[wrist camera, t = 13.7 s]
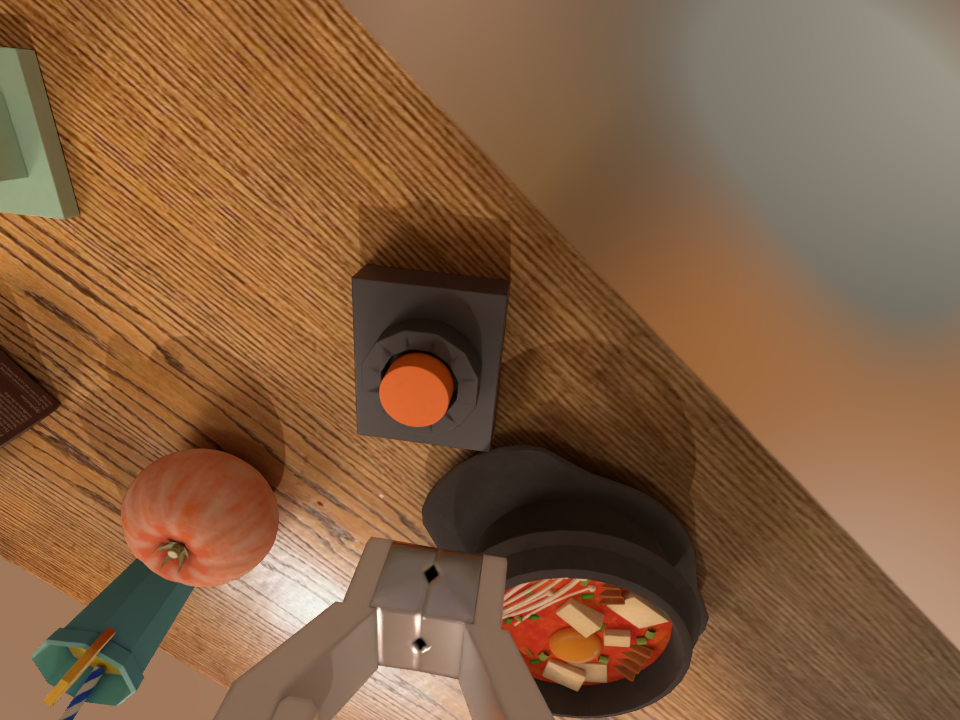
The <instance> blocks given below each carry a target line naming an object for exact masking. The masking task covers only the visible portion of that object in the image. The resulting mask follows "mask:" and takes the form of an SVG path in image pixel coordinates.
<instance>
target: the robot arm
mask: <svg viewBox="0 0 960 720" xmlns="http://www.w3.org/2000/svg"><path fill="white" fill-rule="evenodd" d="M482 559H483V561H482ZM506 570H507V558H502V557H496V556H489V555H484V556H483V554H479V553H472V552H465V551H458V550H451V549H444V548H433V547H427V546H422V545H417V544H411V543H406V542H400V541H395V540H388V539H382V538H377V537H371V538H370V539H369V540H368V542H367V543H366V546H365V548H364V551H363V553H362V556H361V558H360V561H359V563H358V566H357V568H356V570H355V573H354V575H353V578H352V580H351V583H350V585H349V588H348V590H347V593H346V595H345V598H344V600H343V603H342V602H335V603H333V604H332V605H331V606H330V607H328V608H327V609H326V610H324V611H323V612H322V613H321V614H319V615H318V616H317V617H316V618H314V619H313V620H312V621H310V622H309V623H308V624H307V625H305V626H304V627H303V628H302V629H300V630H299V631H298V632H296V633H295V634H294V635H293V636H291V637H290V638H289V639H288V640H286V641H285V642H284V643H283V644H281V645H280V646H279V647H277V648H276V649H275V650H274V651H272V652H271V653H270V654H269V655H267V656H266V657H265V658H263V659H262V660H261V661H260V662H258V663H257V664H256V665H255V666H253V667H252V668H251V669H250V670H248V671H247V672H246V673H244V674H243V675H242V676H241V677H239V678H238V679H237V680H236V681H234V682H233V683H232V685H231V687H230V689H229V691H228V693H227V694H226V696H225V698H224V700H223V702H222V704H221V706H220V707H219V709H218V711H217V713H216V715H215V717H214V719H213V720H331V719H332V718H333V717H334V716H335V715H336V714H337V713H338V712H339V711H340V710H341V708H342V707H343V706H344V705H345V704H346V703H347V702H348V701H349V700H350V698H351V697H352V696H353V695H354V694H355V693H356V692H357V691H358V690H359V689H360V687H361V686H362V685H363V684H364V683H365V682H366V681H367V680H368V679H369V677H370V676H371V675H372V674H373V673H374V672H375V671H376V670H377V669H378V665H379V666H386V667H393V668H400V669H407V670H414V671H420V672H425V673H430V674H435V675H440V676H445V677H450V678H455V679H459V683H460V686H461V689H462V692H463V695H464V698H465V700H466V703H467V706H468V709H469V712H470V715H471V718H472V720H555V719H554V717H553V715H552V713H551V711H550V709H549V708H548V706H547V704H546V702H545V700H544V698H543V696H542V694H541V692H540V690H539V688H538V686H537V684H536V683H535V681H534V679H533V677H532V675H531V673H530V671H529V669H528V667H527V665H526V663H525V661H524V659H523V658H522V656H521V654H520V652H519V650H518V648H517V646H516V644H515V642H514V640H513V638H512V636H511V634H510V633H509V631H508V630H504V629H501V627H502V616H503V604H504V593H505V582H506Z"/></svg>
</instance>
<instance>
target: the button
mask: <svg viewBox="0 0 960 720" xmlns="http://www.w3.org/2000/svg"><path fill="white" fill-rule="evenodd" d="M453 389H454V383H453V378H452V375H451V373H450V371H449V369H448V368H447V367H446V365H445V364H444V363H443V362H441V361H440V360H439V359H437V358H436V357H434V356H431V355H429V354H425V353H418V352H416V353H408V354H405V355H402V356H400V357H399V358H397V359H396V360H395V361H394V362H393V363H392V364H391V366H390V368H389V369H388V371H387V373H386V374H385V376H384V378H383V380H382V381H381V384H380V388H379V397H380V401H381V404H382V406H383V408H384V409H385V411H386V412H387V413H388V414H389V415H390V416H391V417H392V418H393V419H395V420H396V421H398V422H400V423H402V424H404V425H408V426H412V427H424V426H429V425H431V424H434V423H436V422H437V421H439V420H440V419H441V418H442V417H443V416H444V414H445V413H446V411H447V409H448V406H449V403H450V400H451V397H452V393H453Z"/></svg>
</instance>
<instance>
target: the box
mask: <svg viewBox="0 0 960 720" xmlns="http://www.w3.org/2000/svg"><path fill="white" fill-rule="evenodd" d="M58 407H60V404H59V403H58V402H57V401H56V400H54V399H53V398H52V397H51V396H50V395H49V394H48V393H47V392H46V391H44V390H43V389H42V388H41V387H40V386H39V385H38V384H37V383H36V382H34V381H33V380H32V379H31V378H30V377H29V376H28V375H27V374H26V373H25V372H24V371H23V370H22V369H21V368H19V367H18V366H17V365H16V364H15V363H14V362H13V361H12V360H11V359H10V358H9V357H8V356H7V355H6V354H5V353H4V352H2V351H1V349H0V448H1V447H3V446H4V445H6V444H8V443H9V442H11V441H12V440H14V439H16V438H17V437H19V436H20V435H22V434H23V433H24V432H26V431H27V430H29V429H30V428H32V427H33V426H34V425H36V424H37V423H38V422H40V421H41V420H42V419H44V418H45V417H46V416H48V415H49V414H51V413H52V412H53V411H55V410H56V409H57V408H58Z"/></svg>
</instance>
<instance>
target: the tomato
mask: <svg viewBox="0 0 960 720" xmlns="http://www.w3.org/2000/svg"><path fill="white" fill-rule="evenodd" d="M121 518H122V529H123V533H124V537H125V540H126V542H127V544H128V546H129V547H130V549H131V551H132V553H133V554H134V555H135V557H136V558H138V559H139V560H140V561H142V562H143V563H144V564H145V565H146V566H147V567H148V568H149V569H150V570H152V571H153V572H154V573H156V574H158V575H159V576H161V577H163V578H164V579H167V580H169V581H173V582H179V583H182V584H185V585H188V586H196V587H213V586H218V585H221V584H225V583H227V582H230V581H233V580H235V579H238V578H240V577H242V576H243V575H245V574H247V573H248V572H249V571H251V570H252V569H253V568H254V567H256V566H257V565H258V564H259V563H260V562H261V561H262V560H263V559H264V557H265V556H266V555H267V554H268V552H269V551H270V549H271V548H272V546H273V544H274V541H275V539H276V534H277V530H278V520H279V512H278V504H277V500H276V498H275V495H274V493H273V491H272V489H271V487H270V485H269V484H268V482H267V481H266V480H265V478H264V477H263V476H262V475H261V474H260V473H259V472H258V471H257V470H256V469H255V468H254V467H252V466H251V465H250V464H248V463H247V462H245V461H243V460H242V459H240V458H238V457H236V456H234V455H231V454H228V453H226V452H222V451H218V450H212V449H188V450H182V451H178V452H175V453H172V454H169V455H166V456H164V457H162V458H160V459H158V460H156V461H155V462H153V463H152V464H150V465H149V466H148V467H146V468H145V469H144V470H143V471H142V472H141V473H140V474H139V475H138V476H137V477H136V479H135V480H134V481H133V483H132V484H131V486H130V488H129V489H128V491H127V493H126V496H125V498H124V500H123V504H122V508H121Z"/></svg>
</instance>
